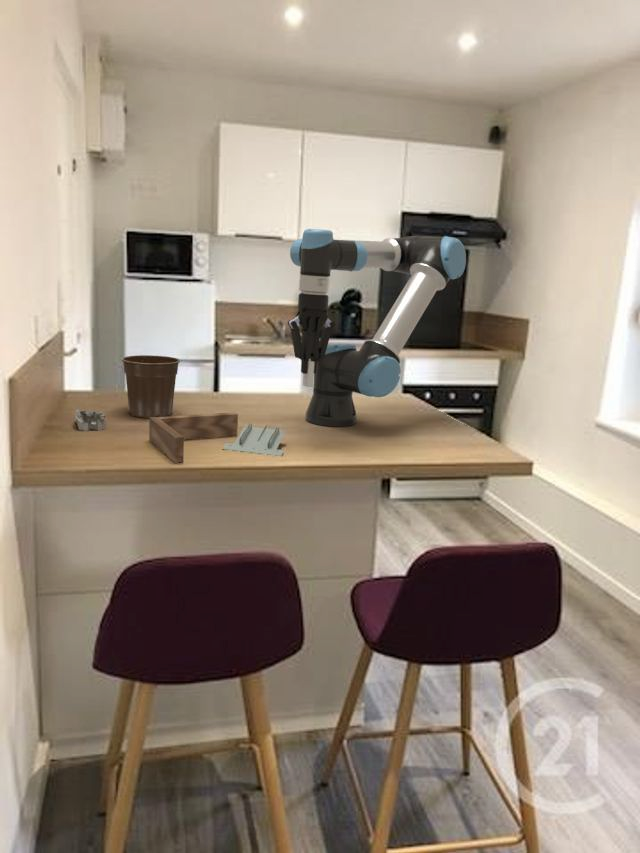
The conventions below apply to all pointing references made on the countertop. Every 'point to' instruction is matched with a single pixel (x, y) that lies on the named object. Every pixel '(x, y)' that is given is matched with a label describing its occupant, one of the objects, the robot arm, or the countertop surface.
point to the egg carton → (90, 420)
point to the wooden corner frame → (189, 431)
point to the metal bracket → (258, 441)
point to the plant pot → (150, 384)
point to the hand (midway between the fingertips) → (307, 385)
